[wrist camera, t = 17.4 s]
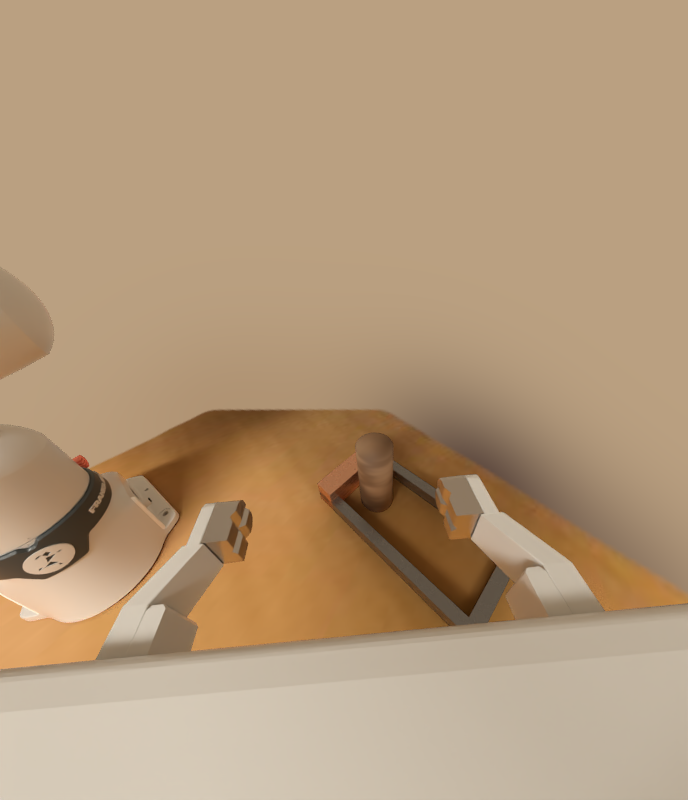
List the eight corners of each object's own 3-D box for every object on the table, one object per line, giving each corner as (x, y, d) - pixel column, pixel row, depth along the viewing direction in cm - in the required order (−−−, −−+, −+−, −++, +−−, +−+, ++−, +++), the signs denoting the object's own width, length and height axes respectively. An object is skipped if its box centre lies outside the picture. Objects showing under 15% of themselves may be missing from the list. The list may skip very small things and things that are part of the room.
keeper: (354, 497, 41) (347, 447, 34) (375, 478, 44) (372, 427, 37) (377, 518, 38) (375, 467, 31) (398, 496, 41) (401, 444, 34)
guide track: (321, 497, 42) (317, 483, 40) (372, 453, 48) (371, 438, 46) (472, 649, 26) (480, 640, 24) (519, 555, 33) (530, 540, 30)
